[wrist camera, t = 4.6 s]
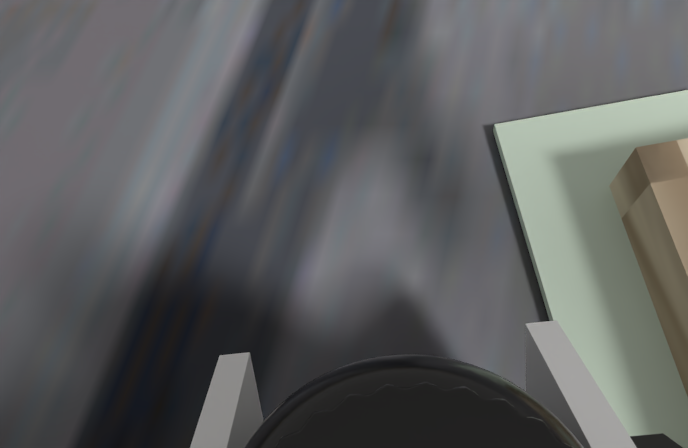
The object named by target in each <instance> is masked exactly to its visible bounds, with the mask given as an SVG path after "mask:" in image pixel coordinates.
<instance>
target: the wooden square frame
mask: <svg viewBox="0 0 688 448" xmlns="http://www.w3.org/2000/svg"><path fill="white" fill-rule="evenodd" d="M609 187H610V189H611V192H612V195H613V197H614V200H615V203H616V205H617V208H618V211H619V213H620V216H621V219H622V222H623V224H624V227H625V230H626V232H627V235H628V238H629V240H630V243H631V246H632V248H633V251H634V254H635V257H636V259H637V262H638V265H639V267H640V270H641V273H642V275H643V278H644V281H645V284H646V286H647V289H648V292H649V294H650V297H651V300H652V302H653V305H654V308H655V310H656V313H657V316H658V319H659V321H660V324H661V327H662V329H663V332H664V335H665V337H666V340H667V343H668V345H669V348H670V351H671V354H672V356H673V359H674V362H675V364H676V367H677V370H678V372H679V375H680V378H681V381H682V383H683V386H684V389H685V391H686V394H687V397H688V138H686V139H680V140H674V141H669V142H663V143H658V144H652V145H646V146H641V147H636V148H635V149H634V151H633V152H632V154H631V155H630V156H629V158H628V159H627V161H626V162H625V164H624V165H623V167H622V168H621V169H620V171H619V172H618V174H617V175H616V177H615V178H614V180H613V181H612V182H611V184H610V185H609Z"/></svg>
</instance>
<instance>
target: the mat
mask: <svg viewBox="0 0 688 448" xmlns="http://www.w3.org/2000/svg"><path fill="white" fill-rule="evenodd" d="M493 133H494V136H495V139H496V143H497V146H498V150H499V153H500V156H501V160H502V163H503V166H504V170H505V173H506V176H507V180H508V183H509V186H510V190H511V193H512V196H513V200H514V203H515V207H516V210H517V213H518V217H519V220H520V223H521V227H522V230H523V233H524V237H525V240H526V243H527V247H528V250H529V254H530V257H531V260H532V264H533V267H534V270H535V274H536V277H537V280H538V284H539V287H540V290H541V294H542V297H543V300H544V304H545V307H546V311H547V314H548V317H549V321H555V320H557V321H558V323H559V325H560V326H561V328H562V329H563V331H564V332H565V334H566V336H567V337H568V339H569V340H570V342H571V344H572V345H573V347H574V348H575V350H576V352H577V353H578V355H579V356H580V358H581V360H582V361H583V363H584V364H585V366H586V368H587V369H588V371H589V372H590V374H591V375H592V377H593V379H594V380H595V382H596V383H597V385H598V387H599V388H600V390H601V391H602V393H603V395H604V396H605V398H606V399H607V401H608V403H609V404H610V406H611V407H612V409H613V410H614V412H615V414H616V415H617V417H618V418H619V420H620V422H621V423H622V425H623V426H624V428H625V430H626V431H627V433H628V434H629V436H640V435H650V434H661V433H663V434H665V435H666V436H668V437H669V438H670V439H672V440H673V441H674V442H676V443H677V444H679V445H680V446H681V447H683V448H688V397H687V394H686V391H685V389H684V386H683V383H682V381H681V378H680V375H679V372H678V370H677V367H676V364H675V362H674V359H673V356H672V354H671V351H670V348H669V345H668V343H667V340H666V337H665V335H664V332H663V329H662V327H661V324H660V321H659V319H658V316H657V313H656V310H655V308H654V305H653V302H652V300H651V297H650V294H649V292H648V289H647V286H646V284H645V281H644V278H643V275H642V273H641V270H640V267H639V265H638V262H637V259H636V257H635V254H634V251H633V248H632V246H631V243H630V240H629V238H628V235H627V232H626V230H625V227H624V224H623V222H622V219H621V216H620V213H619V211H618V208H617V205H616V203H615V200H614V197H613V195H612V192H611V189H610V187H609V185H610V184H611V182H612V181H613V180H614V178H615V177H616V175H617V174H618V172H619V171H620V169H621V168H622V167H623V165H624V164H625V162H626V161H627V159H628V158H629V156H630V155H631V154H632V152H633V151H634V149H635V148H636V147H641V146H646V145H652V144H658V143H663V142H669V141H674V140H680V139H686V138H688V90H684V91H679V92H673V93H668V94H662V95H656V96H651V97H645V98H640V99H634V100H628V101H623V102H617V103H611V104H606V105H600V106H595V107H589V108H583V109H578V110H572V111H567V112H561V113H555V114H550V115H544V116H538V117H533V118H527V119H522V120H516V121H510V122H505V123H499V124H494V128H493Z"/></svg>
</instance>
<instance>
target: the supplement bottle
mask: <svg viewBox="0 0 688 448" xmlns="http://www.w3.org/2000/svg"><path fill="white" fill-rule="evenodd" d="M243 448H584V447H583V446H582V444H581V443H580V442H579V441H578V439H577V438H576V437H575V436H574V434H573V433H572V432H571V431H570V430H569V429H568V428H567V427H566V426H565V425H564V424H563V423H562V422H561V420H560V419H559V418H558V417H557V416H555V415H554V414H553V413H552V412H551V411H550V410H549V409H548V408H546V407H545V406H544V405H543V404H542V403H541V402H539V401H538V400H537V399H535V398H534V397H533V396H531V395H530V394H529V393H527V392H526V391H525V390H523V389H521V388H520V387H518V386H516V385H515V384H513V383H511V382H510V381H508V380H506V379H504V378H502V377H500V376H498V375H496V374H494V373H492V372H490V371H488V370H485V369H483V368H480V367H477V366H475V365H472V364H469V363H465V362H462V361H458V360H455V359H450V358H444V357H439V356H433V355H420V354H396V355H387V356H379V357H374V358H369V359H365V360H360V361H357V362H354V363H351V364H348V365H344V366H341V367H339V368H337V369H335V370H332V371H330V372H328V373H326V374H324V375H322V376H320V377H318V378H316V379H315V380H313V381H311V382H309V383H308V384H306V385H305V386H303V387H302V388H300V389H299V390H297V391H296V392H295V393H293V394H292V395H291V396H289V397H288V398H287V399H286V400H285V401H284V402H282V403H281V404H280V405H279V406H278V407H277V408H276V409H275V410H274V411H273V412H272V413H271V414H270V415H269V416H268V417H267V418H266V419H265V420H264V421H263V422H262V423H261V425H260V426H259V427H258V428H257V430H256V431H255V432H254V433H253V434H252V436H251V437H250V438H249V440H248V441H247V443H246V444H245V446H244V447H243Z"/></svg>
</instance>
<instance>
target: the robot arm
mask: <svg viewBox="0 0 688 448" xmlns="http://www.w3.org/2000/svg"><path fill="white" fill-rule="evenodd" d="M525 334H526V392H527V393H529V394H530V395H531V396H533V397H534V398H535V399H537V400H538V401H539V402H541V403H542V404H543V405H544V406H545V407H546V408H548V409H549V410H550V411H551V412H552V413H553V414H554V415H555V416H557V417H558V418H559V419H560V420H561V422H562V423H563V424H564V425H565V426H566V427H567V428H568V429H569V430H570V431H571V432H572V433H573V434H574V436H575V437H576V438H577V439H578V441H579V442H580V443H581V444H582V446H583V447H584V448H683V447H681V446H680V445H679V444H677V443H676V442H674V441H673V440H672V439H670V438H669V437H668V436H666V435H665V434H663V433H661V434H650V435H640V436H629V434H628V433H627V431H626V430H625V428H624V426H623V425H622V423H621V422H620V420H619V418H618V417H617V415H616V414H615V412H614V410H613V409H612V407H611V406H610V404H609V403H608V401H607V399H606V398H605V396H604V395H603V393H602V391H601V390H600V388H599V387H598V385H597V383H596V382H595V380H594V379H593V377H592V375H591V374H590V372H589V371H588V369H587V368H586V366H585V364H584V363H583V361H582V360H581V358H580V356H579V355H578V353H577V352H576V350H575V348H574V347H573V345H572V344H571V342H570V340H569V339H568V337H567V336H566V334H565V332H564V331H563V329H562V328H561V326H560V325H559V323H558V321H557V320H555V321H545V322H536V323H526V324H525ZM263 421H264V420H263V415H262V410H261V405H260V400H259V395H258V390H257V385H256V380H255V375H254V370H253V365H252V361H251V356H250V352H247V353H237V354H228V355H219V359H218V362H217V365H216V368H215V371H214V374H213V377H212V380H211V383H210V387H209V390H208V393H207V396H206V399H205V402H204V405H203V408H202V412H201V415H200V418H199V421H198V424H197V427H196V430H195V433H194V437H193V440H192V443H191V446H190V448H243V447H244V446H245V444H246V443H247V441H248V440H249V438H250V437H251V436H252V434H253V433H254V432H255V431H256V430H257V428H258V427H259V426H260V425H261V423H262V422H263Z"/></svg>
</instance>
